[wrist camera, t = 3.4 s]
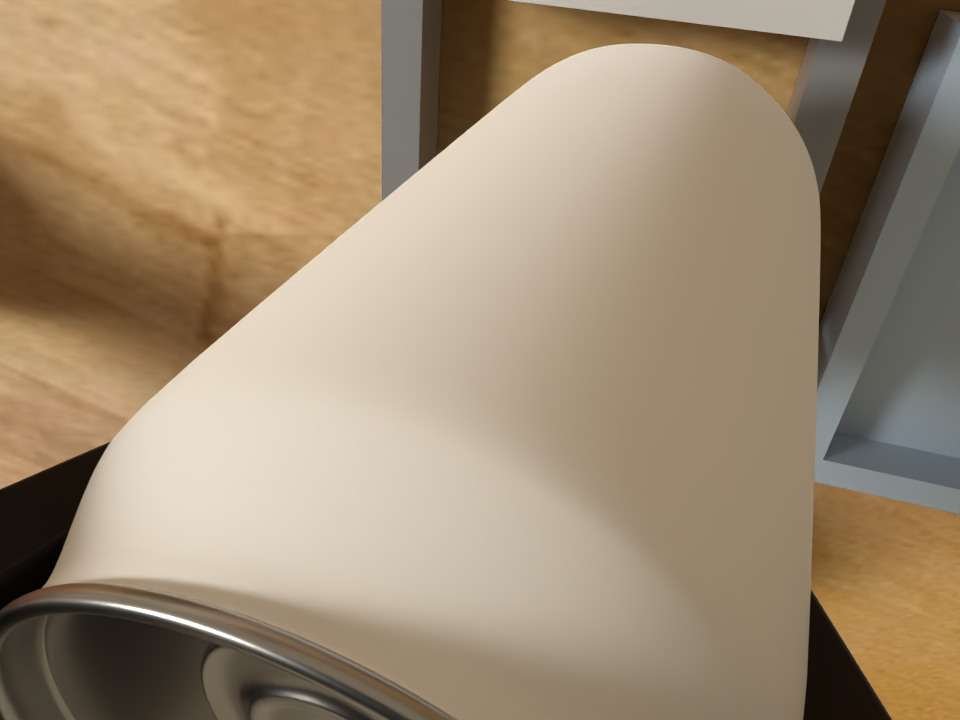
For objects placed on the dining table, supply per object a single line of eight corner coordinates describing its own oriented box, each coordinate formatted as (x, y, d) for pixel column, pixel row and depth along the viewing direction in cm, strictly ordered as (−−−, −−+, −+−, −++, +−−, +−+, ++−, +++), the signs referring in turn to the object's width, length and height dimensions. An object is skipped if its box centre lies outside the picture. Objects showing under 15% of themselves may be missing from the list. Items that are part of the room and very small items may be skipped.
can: (891, 89, 12) (1089, 972, 3) (744, 397, 16) (625, 1176, 7) (508, -6, 13) (-230, 378, 4) (461, 300, 17) (35, 844, 8)
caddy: (1179, -928, 10) (1399, -1309, 7) (678, 577, 27) (672, 675, 24) (413, -863, 12) (297, -1134, 9) (397, 507, 29) (356, 588, 26)
